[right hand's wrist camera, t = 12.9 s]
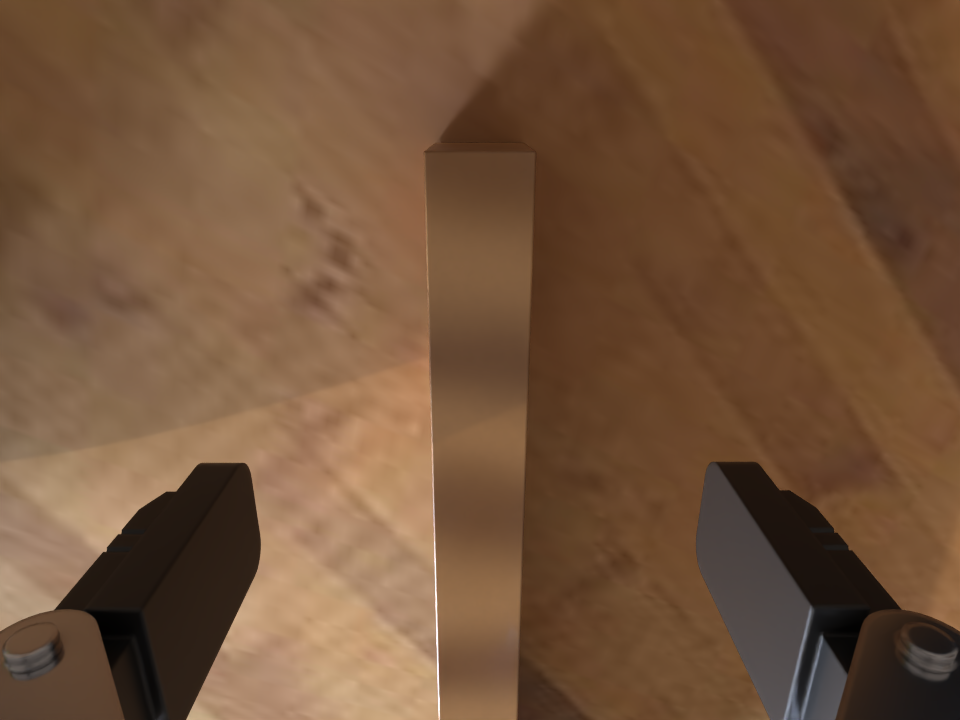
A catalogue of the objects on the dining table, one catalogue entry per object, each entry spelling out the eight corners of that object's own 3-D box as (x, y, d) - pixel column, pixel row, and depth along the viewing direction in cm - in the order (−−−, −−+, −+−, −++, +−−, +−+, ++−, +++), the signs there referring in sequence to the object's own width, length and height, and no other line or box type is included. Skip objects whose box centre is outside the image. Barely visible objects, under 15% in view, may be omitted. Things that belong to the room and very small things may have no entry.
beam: (434, 142, 31) (423, 150, 25) (525, 142, 31) (536, 151, 25) (449, 847, 49) (444, 951, 43) (506, 847, 49) (509, 951, 43)
